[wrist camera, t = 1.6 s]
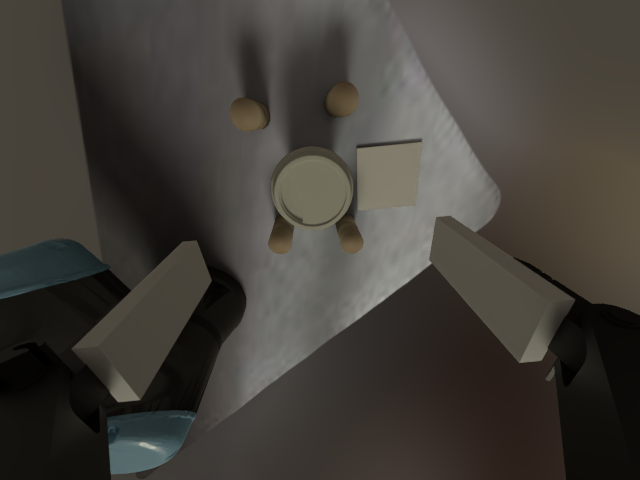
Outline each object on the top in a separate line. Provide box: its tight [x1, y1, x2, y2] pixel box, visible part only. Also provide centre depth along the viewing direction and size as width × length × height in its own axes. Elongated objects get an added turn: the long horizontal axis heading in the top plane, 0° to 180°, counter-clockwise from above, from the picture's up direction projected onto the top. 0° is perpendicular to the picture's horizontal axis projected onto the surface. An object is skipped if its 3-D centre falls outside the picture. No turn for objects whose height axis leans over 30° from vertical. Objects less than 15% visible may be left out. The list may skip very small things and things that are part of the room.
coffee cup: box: [271, 146, 353, 230], centre depth 28 cm, size 9×9×12 cm
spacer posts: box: [230, 81, 363, 254], centre depth 30 cm, size 14×20×7 cm
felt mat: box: [356, 142, 422, 211], centre depth 34 cm, size 9×9×1 cm
